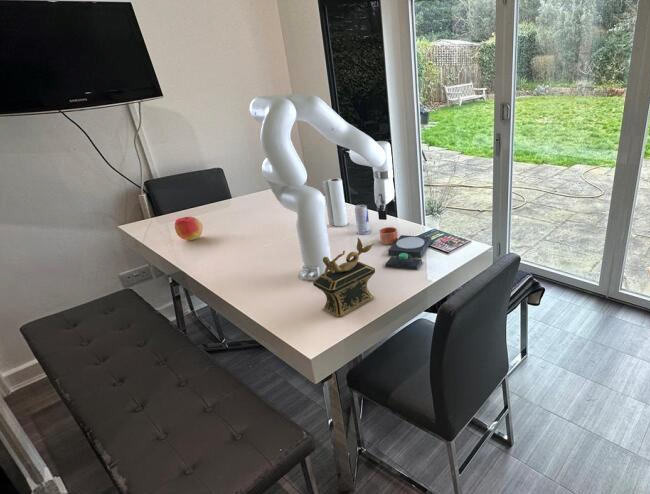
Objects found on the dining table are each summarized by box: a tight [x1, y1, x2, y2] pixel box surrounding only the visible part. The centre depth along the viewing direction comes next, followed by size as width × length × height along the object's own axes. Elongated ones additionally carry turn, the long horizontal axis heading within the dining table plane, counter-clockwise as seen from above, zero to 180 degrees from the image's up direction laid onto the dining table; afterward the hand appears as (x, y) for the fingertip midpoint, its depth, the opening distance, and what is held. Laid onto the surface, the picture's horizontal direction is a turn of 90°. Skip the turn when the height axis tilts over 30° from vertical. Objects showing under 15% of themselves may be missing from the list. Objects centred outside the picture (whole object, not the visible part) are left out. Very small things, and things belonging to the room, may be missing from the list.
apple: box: [174, 216, 203, 241], centre depth 173 cm, size 10×10×10 cm
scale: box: [387, 234, 432, 259], centre depth 163 cm, size 15×13×3 cm
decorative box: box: [312, 237, 376, 317], centre depth 124 cm, size 20×10×20 cm, turn 143°
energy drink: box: [354, 204, 371, 235], centre depth 177 cm, size 5×5×12 cm
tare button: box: [399, 253, 408, 260], centre depth 149 cm, size 3×3×2 cm
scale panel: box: [385, 254, 423, 271], centre depth 150 cm, size 6×12×3 cm, turn 79°
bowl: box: [379, 226, 399, 246], centre depth 169 cm, size 7×7×5 cm
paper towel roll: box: [322, 177, 349, 227], centre depth 184 cm, size 7×6×21 cm
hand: (387, 215), depth 165 cm, fingers open, 9 cm apart
